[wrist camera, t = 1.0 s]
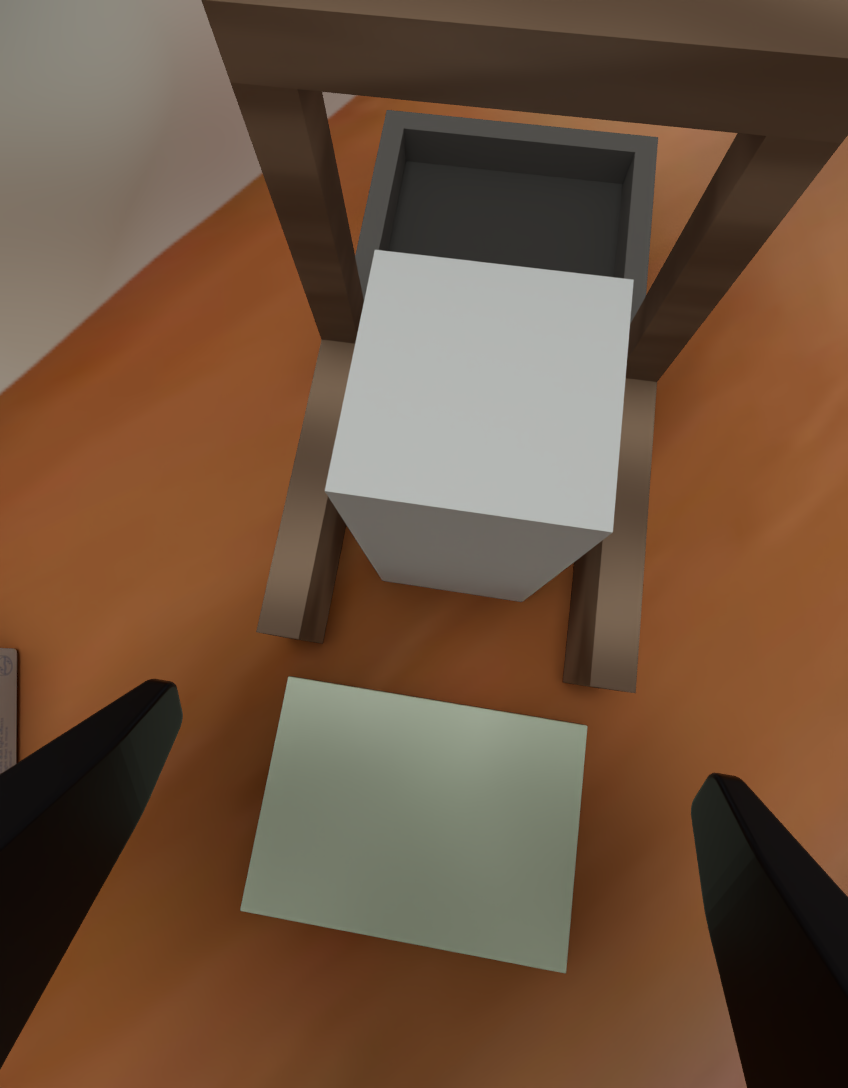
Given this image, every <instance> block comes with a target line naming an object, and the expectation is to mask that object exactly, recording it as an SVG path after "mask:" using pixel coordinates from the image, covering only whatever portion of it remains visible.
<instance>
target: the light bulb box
mask: <svg viewBox="0 0 848 1088" xmlns="http://www.w3.org/2000/svg"><path fill="white" fill-rule="evenodd" d="M16 739H17V651H16V649H11V648H0V774H1V773H3V772H4V771H6V770H7V769H9V768H10V767H12V766H14V765H15V764H16Z"/></svg>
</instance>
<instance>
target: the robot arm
mask: <svg viewBox="0 0 848 1088" xmlns="http://www.w3.org/2000/svg"><path fill="white" fill-rule="evenodd" d="M182 717H183V714H182V708H181V704H180V699H179V695H178V690H177V687H176V685H175V684H174V683H173V682H171V681H165V680H159V679H150V680H147V681H145V682H144V683H142V684H140V685H139V686H137V687H136V688H134V689H133V690H131V691H129V692H128V693H126V694H125V695H123V696H122V697H120V698H118V699H117V700H115V701H114V702H112V703H111V704H109V705H108V706H106V707H104V708H103V709H101V710H100V711H98V712H97V713H95V714H93V715H92V716H90V717H89V718H87V719H86V720H84V721H82V722H81V723H79V724H78V725H76V726H75V727H73V728H72V729H70V730H68V731H67V732H65V733H64V734H62V735H61V736H59V737H57V738H56V739H54V740H53V741H51V742H50V743H48V744H46V745H45V746H43V747H42V748H40V749H39V750H37V751H36V752H34V753H32V754H31V755H29V756H28V757H26V758H25V759H23V760H21V761H20V762H18V763H17V764H15V765H14V766H12V767H10V768H9V769H7V770H6V771H4V772H3V773H1V774H0V1069H1V1067H2V1065H3V1063H4V1062H5V1060H6V1058H7V1056H8V1054H9V1053H10V1051H11V1049H12V1047H13V1045H14V1044H15V1042H16V1040H17V1038H18V1037H19V1035H20V1033H21V1031H22V1029H23V1028H24V1026H25V1024H26V1022H27V1020H28V1019H29V1017H30V1015H31V1013H32V1011H33V1010H34V1008H35V1006H36V1004H37V1002H38V1001H39V999H40V997H41V995H42V993H43V992H44V990H45V988H46V986H47V985H48V983H49V981H50V979H51V977H52V976H53V974H54V972H55V970H56V968H57V967H58V965H59V963H60V961H61V959H62V958H63V956H64V954H65V952H66V950H67V949H68V947H69V945H70V943H71V941H72V940H73V938H74V936H75V934H76V933H77V931H78V929H79V927H80V925H81V924H82V922H83V920H84V918H85V916H86V915H87V913H88V911H89V909H90V907H91V906H92V904H93V902H94V900H95V898H96V897H97V895H98V893H99V891H100V889H101V888H102V886H103V884H104V882H105V881H106V879H107V877H108V875H109V873H110V872H111V870H112V868H113V866H114V864H115V863H116V861H117V859H118V857H119V855H120V854H121V852H122V850H123V848H124V846H125V845H126V843H127V841H128V839H129V837H130V836H131V834H132V832H133V830H134V829H135V827H136V825H137V823H138V821H139V819H140V817H141V815H142V813H143V811H144V809H145V807H146V805H147V803H148V801H149V798H150V796H151V794H152V791H153V789H154V787H155V784H156V782H157V780H158V778H159V775H160V773H161V771H162V768H163V766H164V764H165V761H166V759H167V757H168V754H169V752H170V750H171V748H172V745H173V743H174V741H175V738H176V736H177V734H178V731H179V729H180V726H181V723H182ZM691 818H692V825H693V832H694V839H695V846H696V853H697V860H698V868H699V875H700V882H701V889H702V896H703V903H704V909H705V915H706V920H707V924H708V929H709V933H710V937H711V941H712V946H713V950H714V954H715V958H716V962H717V966H718V970H719V974H720V978H721V982H722V987H723V991H724V995H725V999H726V1003H727V1007H728V1011H729V1015H730V1019H731V1023H732V1028H733V1032H734V1036H735V1040H736V1044H737V1048H738V1052H739V1056H740V1060H741V1064H742V1069H743V1073H744V1077H745V1081H746V1085H747V1088H848V897H847V896H846V894H845V893H844V892H843V891H842V890H841V889H840V888H839V887H838V886H837V884H836V883H835V882H834V881H833V880H832V879H831V878H830V877H829V876H828V874H827V873H826V872H825V871H824V870H823V869H822V868H821V867H820V866H819V864H818V863H817V862H816V861H815V860H814V859H813V858H812V857H811V856H810V854H809V853H808V852H807V851H806V850H805V849H804V848H803V847H802V846H801V844H800V843H799V842H798V841H797V840H796V839H795V838H794V837H793V836H792V834H791V833H790V832H789V831H788V830H787V829H786V828H785V827H784V826H783V824H782V823H781V822H780V821H779V820H778V819H777V818H776V817H775V816H774V814H773V813H772V812H771V811H770V810H769V809H768V808H767V807H766V806H765V804H764V803H763V802H762V801H761V800H760V799H759V798H758V797H757V796H756V794H755V793H754V792H753V791H752V790H751V789H750V788H749V787H748V786H747V784H746V783H745V782H744V781H742V780H741V779H740V778H738V777H736V776H732V775H726V774H720V773H712V774H710V775H709V776H708V777H707V779H706V781H705V782H704V784H703V785H702V787H701V789H700V790H699V792H698V793H697V795H696V797H695V798H694V800H693V802H692V807H691Z"/></svg>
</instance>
